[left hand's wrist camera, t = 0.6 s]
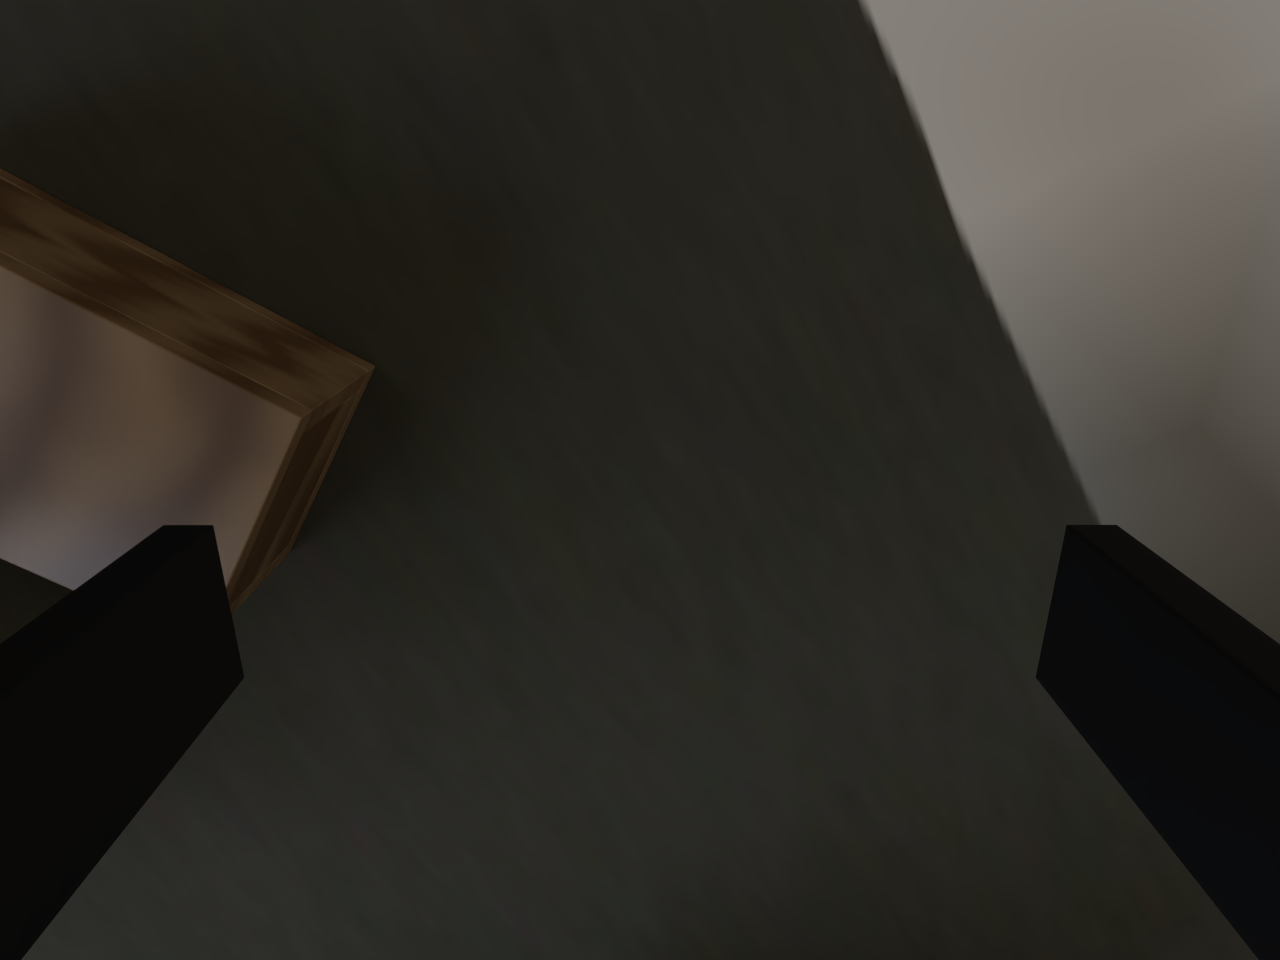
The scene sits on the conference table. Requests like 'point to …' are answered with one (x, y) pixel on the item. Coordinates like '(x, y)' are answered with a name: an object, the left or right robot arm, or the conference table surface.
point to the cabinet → (150, 402)
